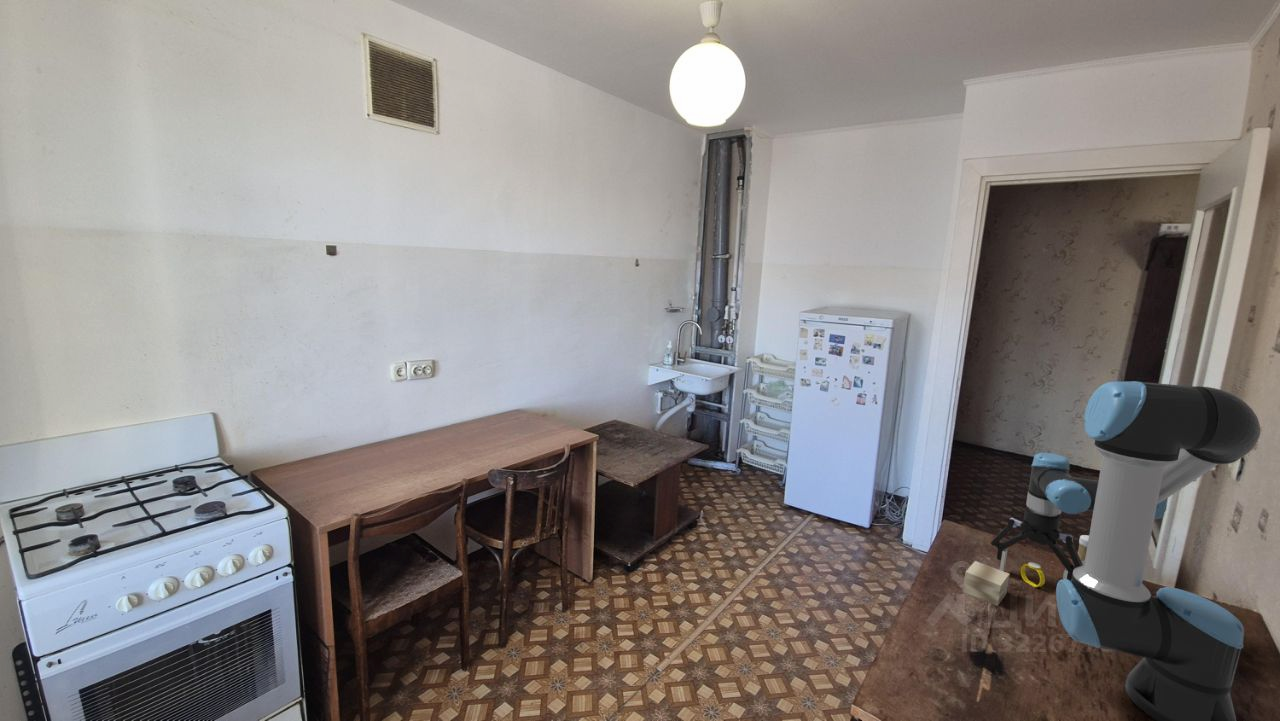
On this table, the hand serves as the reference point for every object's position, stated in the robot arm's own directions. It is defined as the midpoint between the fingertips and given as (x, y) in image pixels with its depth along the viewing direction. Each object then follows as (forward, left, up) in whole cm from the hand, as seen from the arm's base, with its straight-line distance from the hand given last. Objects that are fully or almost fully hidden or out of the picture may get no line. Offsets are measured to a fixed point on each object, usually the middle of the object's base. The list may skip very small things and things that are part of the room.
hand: (1031, 581), depth 142 cm
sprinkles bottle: (-10, -11, -1) cm, 15 cm away
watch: (0, 0, -1) cm, 1 cm away
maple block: (+8, +14, -1) cm, 16 cm away
